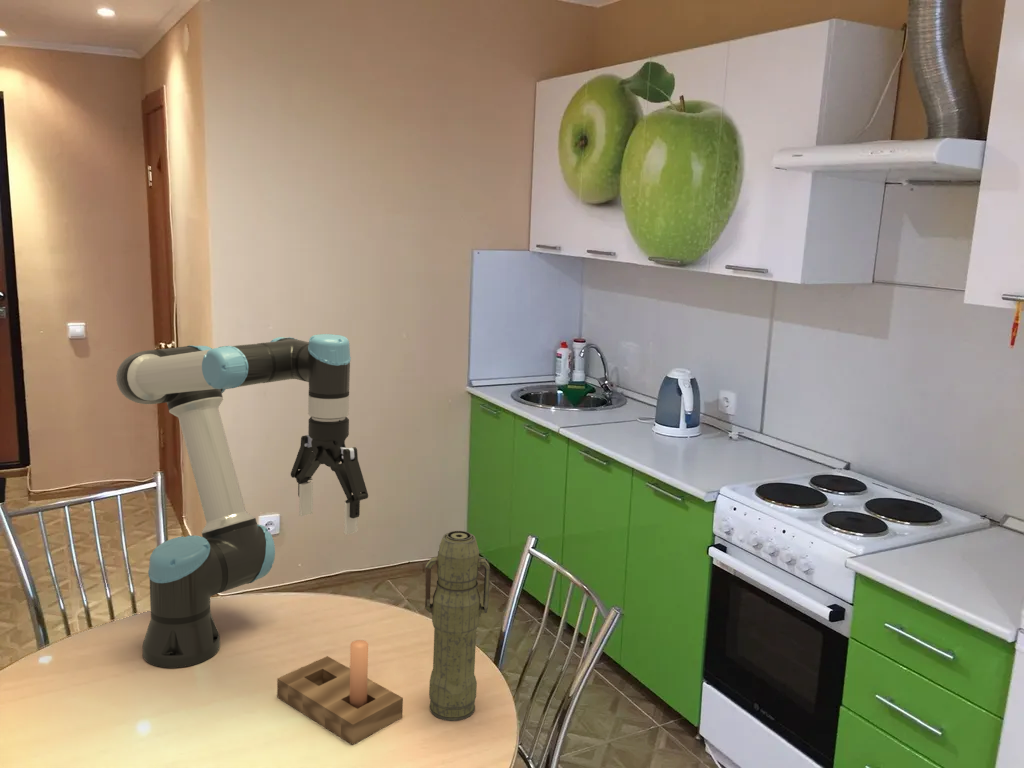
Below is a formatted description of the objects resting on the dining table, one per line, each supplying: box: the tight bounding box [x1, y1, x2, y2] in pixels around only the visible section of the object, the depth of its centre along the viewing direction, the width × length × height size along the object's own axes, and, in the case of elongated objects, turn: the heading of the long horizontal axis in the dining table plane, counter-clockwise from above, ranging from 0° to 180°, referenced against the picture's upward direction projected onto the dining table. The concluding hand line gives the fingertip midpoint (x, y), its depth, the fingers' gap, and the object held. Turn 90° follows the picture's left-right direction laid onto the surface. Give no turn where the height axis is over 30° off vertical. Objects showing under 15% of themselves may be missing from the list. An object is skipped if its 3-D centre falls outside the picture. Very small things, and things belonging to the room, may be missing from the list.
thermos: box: [424, 530, 491, 722], centre depth 165 cm, size 9×12×35 cm
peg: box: [349, 639, 369, 709], centre depth 162 cm, size 3×3×15 cm
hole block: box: [276, 655, 404, 746], centre depth 166 cm, size 22×12×4 cm, turn 51°
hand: (327, 523), depth 170 cm, fingers open, 13 cm apart
